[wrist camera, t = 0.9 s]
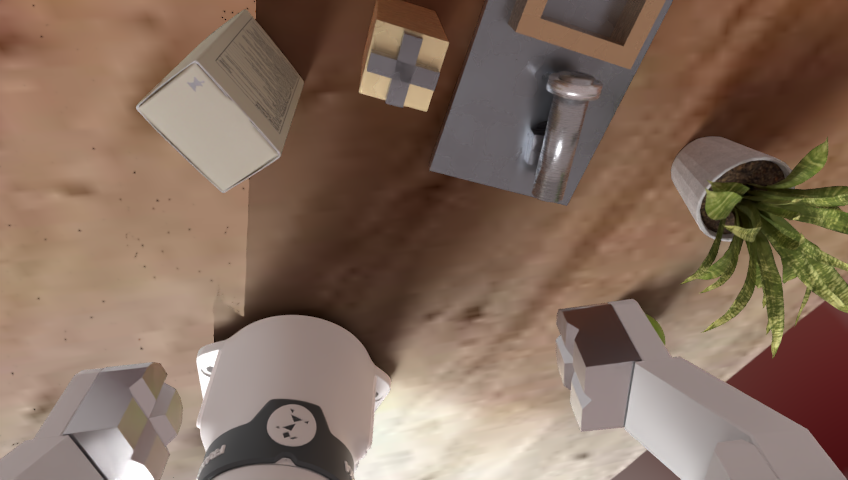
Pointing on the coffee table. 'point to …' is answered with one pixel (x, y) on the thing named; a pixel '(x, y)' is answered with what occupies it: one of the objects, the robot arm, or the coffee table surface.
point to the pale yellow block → (403, 54)
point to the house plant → (762, 222)
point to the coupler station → (538, 82)
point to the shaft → (560, 132)
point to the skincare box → (227, 103)
